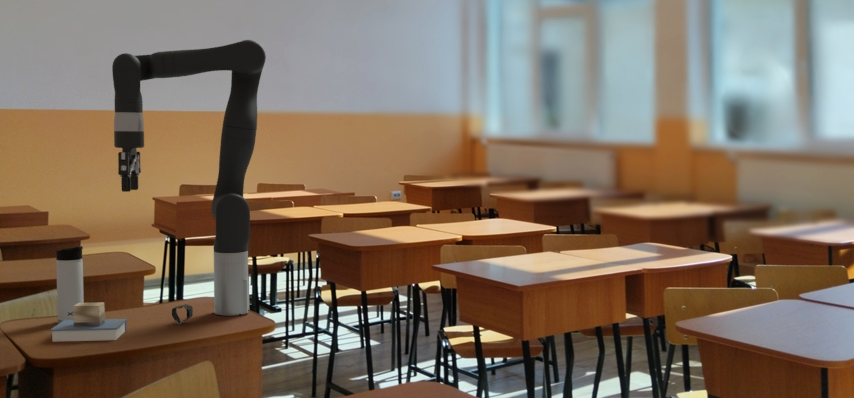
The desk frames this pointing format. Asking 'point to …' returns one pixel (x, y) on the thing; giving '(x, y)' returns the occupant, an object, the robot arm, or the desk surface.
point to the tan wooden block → (89, 314)
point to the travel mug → (69, 281)
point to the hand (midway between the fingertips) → (130, 190)
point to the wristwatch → (189, 313)
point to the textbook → (89, 331)
